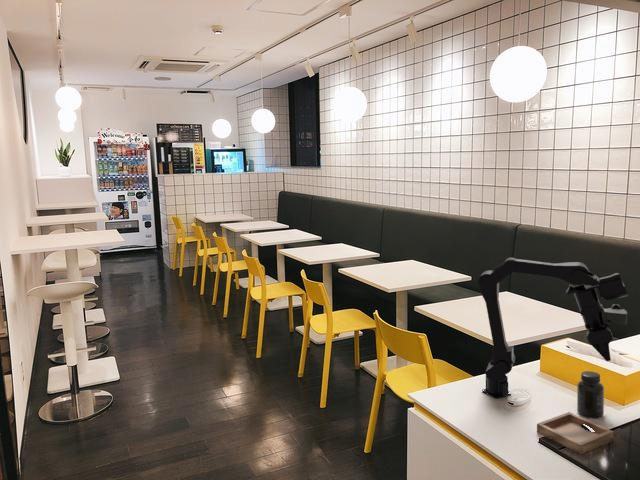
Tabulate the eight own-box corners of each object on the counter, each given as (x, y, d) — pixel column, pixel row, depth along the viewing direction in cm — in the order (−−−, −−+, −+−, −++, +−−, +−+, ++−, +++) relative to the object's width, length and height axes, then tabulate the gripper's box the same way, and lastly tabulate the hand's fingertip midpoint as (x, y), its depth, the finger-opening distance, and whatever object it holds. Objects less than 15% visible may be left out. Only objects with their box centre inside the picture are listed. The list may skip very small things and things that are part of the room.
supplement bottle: (597, 408, 151) (598, 369, 149) (607, 419, 144) (609, 378, 143) (573, 408, 152) (573, 369, 150) (582, 419, 145) (583, 378, 143)
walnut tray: (536, 432, 139) (537, 423, 138) (568, 420, 144) (569, 411, 144) (580, 454, 127) (580, 445, 127) (613, 440, 133) (613, 431, 133)
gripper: (623, 305, 137) (643, 360, 137) (616, 290, 154) (634, 339, 153) (578, 315, 142) (597, 368, 142) (577, 299, 159) (594, 347, 158)
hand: (607, 355), depth 149 cm, fingers open, 9 cm apart
